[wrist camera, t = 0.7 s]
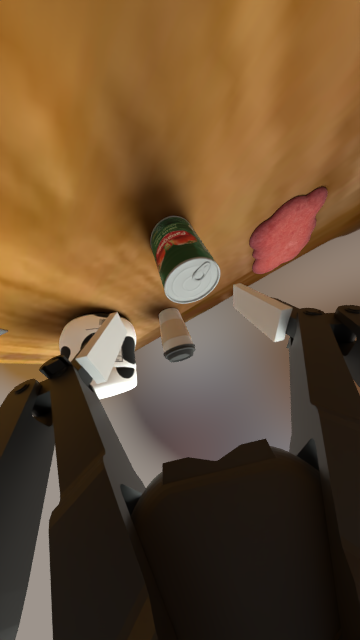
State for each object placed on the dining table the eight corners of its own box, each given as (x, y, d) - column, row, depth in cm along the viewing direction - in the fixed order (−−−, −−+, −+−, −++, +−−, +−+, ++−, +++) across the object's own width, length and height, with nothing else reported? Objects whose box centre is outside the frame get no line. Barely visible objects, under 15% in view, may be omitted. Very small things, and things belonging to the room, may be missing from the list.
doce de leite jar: (91, 343, 44) (87, 404, 35) (41, 318, 29) (14, 412, 20) (141, 330, 46) (149, 384, 37) (119, 299, 31) (124, 378, 22)
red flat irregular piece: (246, 228, 25) (252, 233, 24) (333, 166, 20) (344, 169, 20) (251, 278, 39) (255, 283, 38) (303, 248, 35) (309, 253, 34)
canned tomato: (179, 267, 28) (196, 307, 22) (143, 253, 23) (154, 299, 18) (202, 230, 23) (232, 270, 17) (162, 203, 18) (186, 246, 13)
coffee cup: (167, 324, 48) (178, 365, 40) (149, 317, 41) (158, 365, 33) (187, 311, 44) (203, 353, 37) (170, 301, 37) (186, 351, 30)
